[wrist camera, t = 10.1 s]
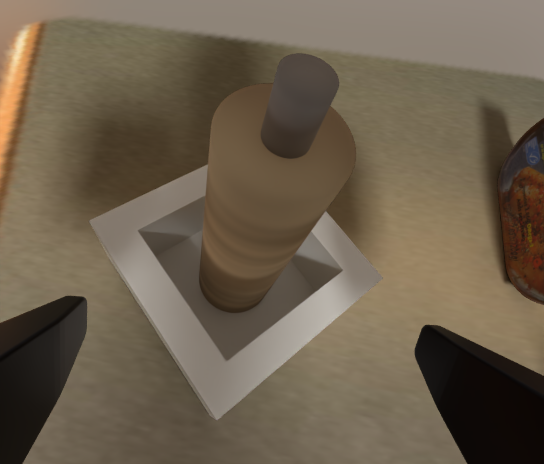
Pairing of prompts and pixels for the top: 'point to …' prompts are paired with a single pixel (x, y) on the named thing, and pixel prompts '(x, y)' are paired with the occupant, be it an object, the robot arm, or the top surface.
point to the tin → (524, 213)
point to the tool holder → (208, 319)
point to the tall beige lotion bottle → (270, 178)
